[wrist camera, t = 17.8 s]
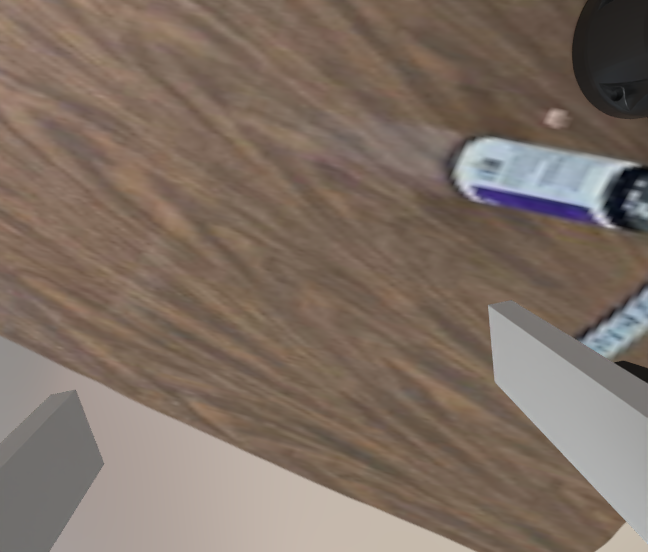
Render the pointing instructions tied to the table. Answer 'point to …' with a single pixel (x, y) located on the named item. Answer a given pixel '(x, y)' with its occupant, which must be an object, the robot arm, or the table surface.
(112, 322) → the table surface
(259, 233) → the table surface
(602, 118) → the table surface
